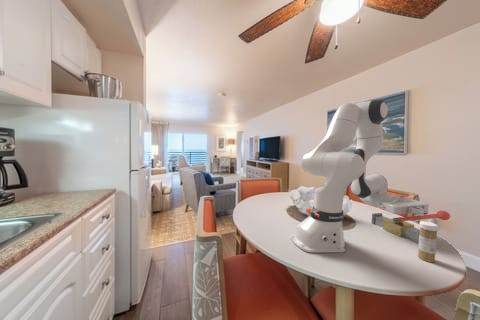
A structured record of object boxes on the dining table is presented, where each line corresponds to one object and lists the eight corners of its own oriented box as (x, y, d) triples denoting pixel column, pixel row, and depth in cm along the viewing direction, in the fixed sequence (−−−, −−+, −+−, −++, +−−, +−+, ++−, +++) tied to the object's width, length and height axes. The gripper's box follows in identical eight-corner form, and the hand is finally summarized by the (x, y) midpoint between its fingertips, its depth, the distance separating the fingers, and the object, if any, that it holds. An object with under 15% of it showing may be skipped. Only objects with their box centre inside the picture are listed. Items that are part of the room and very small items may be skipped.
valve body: (418, 244, 75) (419, 232, 74) (369, 223, 96) (370, 213, 96) (432, 243, 76) (433, 230, 76) (381, 222, 98) (382, 212, 98)
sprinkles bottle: (428, 256, 67) (431, 221, 66) (439, 263, 62) (442, 226, 62) (414, 254, 68) (416, 220, 67) (423, 261, 63) (426, 225, 63)
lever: (394, 224, 86) (447, 220, 67) (391, 216, 87) (442, 210, 69) (401, 223, 87) (455, 219, 68) (398, 215, 88) (450, 209, 70)
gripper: (375, 198, 87) (407, 207, 73) (407, 196, 91) (443, 204, 78) (374, 210, 87) (406, 222, 73) (406, 208, 91) (442, 218, 78)
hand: (425, 212), depth 76 cm, fingers closed
